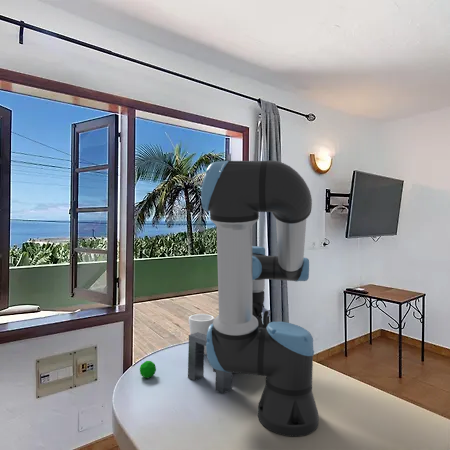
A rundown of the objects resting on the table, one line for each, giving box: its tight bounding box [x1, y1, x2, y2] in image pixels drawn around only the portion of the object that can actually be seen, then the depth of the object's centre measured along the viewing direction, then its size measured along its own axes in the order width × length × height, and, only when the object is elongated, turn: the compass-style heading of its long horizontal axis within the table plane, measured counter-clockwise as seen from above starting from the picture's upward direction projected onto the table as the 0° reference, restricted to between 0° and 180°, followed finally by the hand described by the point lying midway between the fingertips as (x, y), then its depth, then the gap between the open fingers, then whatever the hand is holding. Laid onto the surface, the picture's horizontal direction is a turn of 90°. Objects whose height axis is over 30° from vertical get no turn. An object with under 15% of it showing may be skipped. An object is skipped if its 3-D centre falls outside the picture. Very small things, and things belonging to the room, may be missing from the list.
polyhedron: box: [139, 360, 157, 379], centre depth 107 cm, size 5×5×5 cm
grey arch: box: [187, 332, 233, 395], centre depth 104 cm, size 14×4×14 cm, turn 50°
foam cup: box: [188, 313, 215, 355], centre depth 129 cm, size 10×9×13 cm
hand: (251, 354), depth 122 cm, fingers closed on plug, 5 cm apart
